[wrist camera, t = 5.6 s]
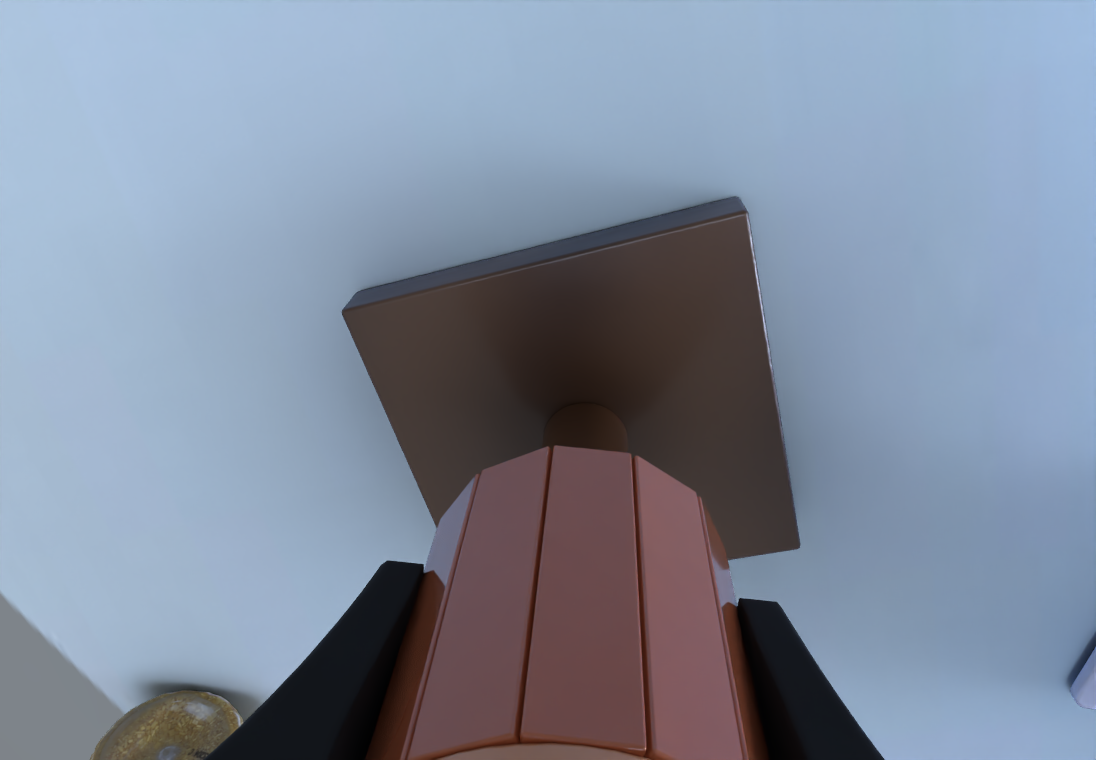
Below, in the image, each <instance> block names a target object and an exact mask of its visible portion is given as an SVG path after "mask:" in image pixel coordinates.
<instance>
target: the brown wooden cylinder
mask: <svg viewBox="0 0 1096 760" xmlns="http://www.w3.org/2000/svg"><path fill="white" fill-rule="evenodd" d="M365 760H769V756H768V751H767V746H766V741H765V737H764V732H763V727H762V722H761V718H760V713H759V708H758V703H757V698H756V694H755V689H754V684H753V679H752V674H751V670H750V665H749V660H748V656H747V651H746V646H745V641H744V636H743V632H742V627H741V622H740V617H739V612H738V608H737V603H736V598H735V593H734V588H733V584H732V579H731V574H730V569H729V564H728V560H727V555H726V550H725V547H724V545H723V543H722V541H721V539H720V537H719V535H718V533H717V530H716V528H715V526H714V524H713V522H712V520H711V518H710V516H709V513H708V511H707V509H706V507H705V505H704V503H703V501H702V499H701V497H700V496H697V493H696V492H695V491H694V490H692V489H690V488H689V487H687V486H686V485H684V484H682V483H681V482H679V481H678V480H676V479H674V478H673V477H671V476H670V475H668V474H666V473H665V472H663V471H662V470H660V469H658V468H657V467H655V466H654V465H652V464H650V463H649V462H647V461H646V460H644V459H642V458H641V457H639V456H637V455H636V456H634V457H633V459H632V455H631V453H628V452H618V451H608V450H598V449H589V448H579V447H569V446H559V445H555V446H554V447H553V452H552V450H551V449H550V447H549V446H546V447H544V448H541V449H538V450H536V451H533V452H530V453H527V454H525V455H522V456H519V457H516V458H514V459H511V460H508V461H505V462H503V463H500V464H497V465H494V466H492V467H489V468H486V469H483V470H482V471H481V474H476V475H475V476H474V478H473V479H472V480H471V481H470V483H469V484H468V485H467V486H466V488H465V489H464V490H463V491H462V493H461V494H460V495H459V496H458V498H457V499H456V500H455V501H454V503H453V504H452V505H451V506H450V508H449V509H448V510H447V511H446V513H445V514H444V515H443V516H442V518H441V519H440V522H439V525H438V527H437V530H436V534H435V537H434V540H433V543H432V546H431V550H430V553H429V556H428V559H427V563H426V566H425V569H424V574H423V577H422V580H421V583H420V586H419V590H418V593H417V596H416V599H415V603H414V606H413V609H412V612H411V615H410V619H409V622H408V625H407V628H406V631H405V634H404V638H403V641H402V644H401V647H400V650H399V653H398V656H397V659H396V662H395V665H394V669H393V672H392V675H391V678H390V681H389V685H388V688H387V691H386V694H385V697H384V701H383V704H382V707H381V710H380V714H379V717H378V720H377V723H376V726H375V730H374V733H373V736H372V739H371V742H370V746H369V749H368V752H367V755H366V758H365Z"/></svg>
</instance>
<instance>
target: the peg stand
mask: <svg viewBox="0 0 1096 760" xmlns="http://www.w3.org/2000/svg"><path fill="white" fill-rule="evenodd" d="M342 315H343V317H344V320H345V322H346V324H347V327H348V329H349V331H350V333H351V336H352V338H353V340H354V342H355V345H356V347H357V349H358V351H359V354H360V356H361V358H362V360H363V363H364V365H365V367H366V369H367V372H368V374H369V376H370V378H371V381H372V383H373V385H374V387H375V390H376V392H377V394H378V396H379V399H380V401H381V403H382V405H383V408H384V410H385V412H386V414H387V417H388V419H389V421H390V424H391V426H392V428H393V430H394V433H395V435H396V437H397V439H398V442H399V444H400V446H401V448H402V451H403V453H404V455H405V457H406V460H407V462H408V464H409V466H410V469H411V471H412V473H413V475H414V478H415V480H416V482H417V484H418V487H419V489H420V491H421V493H422V496H423V498H424V500H425V502H426V505H427V507H428V509H429V512H430V514H431V516H432V518H433V521H434V523H435V525H436V527H438V525H439V522H440V519H441V518H442V516H443V515H444V514H445V513H446V511H447V510H448V509H449V508H450V506H451V505H452V504H453V503H454V501H455V500H456V499H457V498H458V496H459V495H460V494H461V493H462V491H463V490H464V489H465V488H466V486H467V485H468V484H469V483H470V481H471V480H472V479H473V478H474V476H475V475H476V474H481V471H482V470H483V469H486V468H489V467H492V466H494V465H497V464H500V463H503V462H505V461H508V460H511V459H514V458H516V457H519V456H522V455H525V454H527V453H530V452H533V451H536V450H538V449H541V448H544V447H546V446H549V447H550V449H551V450H552V452H553V447H554V446H555V445H559V446H569V447H579V448H589V449H598V450H608V451H618V452H628V453H631V455H632V459H633V457H634V456H636V455H637V456H639V457H641V458H642V459H644V460H646V461H647V462H649V463H650V464H652V465H654V466H655V467H657V468H658V469H660V470H662V471H663V472H665V473H666V474H668V475H670V476H671V477H673V478H674V479H676V480H678V481H679V482H681V483H682V484H684V485H686V486H687V487H689V488H690V489H692V490H694V491H695V492H696V493H697V496H700V497H701V499H702V501H703V503H704V505H705V507H706V509H707V511H708V513H709V516H710V518H711V520H712V522H713V524H714V526H715V528H716V530H717V533H718V535H719V537H720V539H721V541H722V543H723V545H724V547H725V550H726V555H727V560H732V559H738V558H744V557H751V556H757V555H763V554H770V553H776V552H782V551H789V550H795V549H799V548H800V539H799V532H798V526H797V519H796V513H795V507H794V500H793V494H792V488H791V481H790V475H789V468H788V462H787V456H786V449H785V443H784V437H783V430H782V424H781V417H780V411H779V405H778V398H777V392H776V386H775V379H774V373H773V366H772V360H771V354H770V347H769V341H768V334H767V328H766V322H765V315H764V309H763V303H762V296H761V290H760V283H759V277H758V271H757V264H756V258H755V252H754V245H753V239H752V232H751V226H750V220H749V213H748V212H747V210H746V208H745V207H744V205H743V203H742V202H741V200H740V199H739V197H733V198H729V199H725V200H721V201H717V202H713V203H709V204H705V205H701V206H697V207H693V208H689V209H685V210H681V211H677V212H673V213H669V214H665V215H661V216H657V217H653V218H649V219H645V220H641V221H637V222H633V223H629V224H625V225H621V226H617V227H613V228H609V229H605V230H601V231H598V232H594V233H590V234H586V235H582V236H578V237H574V238H570V239H566V240H562V241H558V242H554V243H550V244H546V245H542V246H538V247H534V248H530V249H526V250H522V251H518V252H514V253H510V254H506V255H502V256H498V257H494V258H490V259H486V260H482V261H478V262H474V263H470V264H466V265H462V266H458V267H455V268H451V269H447V270H443V271H439V272H435V273H431V274H427V275H423V276H419V277H415V278H411V279H407V280H403V281H399V282H395V283H391V284H387V285H383V286H379V287H375V288H371V289H367V290H363V291H359V292H357V293H356V294H355V295H354V296H353V297H352V299H351V300H350V301H349V302H348V304H347V305H346V306H345V307H344V308H343V310H342Z"/></svg>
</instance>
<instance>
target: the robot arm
mask: <svg viewBox="0 0 1096 760" xmlns="http://www.w3.org/2000/svg"><path fill="white" fill-rule="evenodd" d="M423 574H424V564H416V563H407V562H397V561H386V562H385V563H383V564H382V565H381V566H380V567H379V569H378V570H377V571H376V573H375V574H374V576H373V577H372V578H371V580H370V581H369V582H368V584H367V585H366V587H365V588H364V589H363V591H362V592H361V593H360V594H359V596H358V597H357V598H356V600H355V601H354V602H353V603H352V605H351V606H350V607H349V608H348V610H347V611H346V612H345V613H344V615H343V616H342V617H341V618H340V620H339V621H338V622H337V623H336V624H335V626H334V627H333V628H332V629H331V630H330V631H329V633H328V634H327V635H326V636H325V637H324V638H323V640H322V641H321V642H320V643H319V644H318V645H317V646H316V648H315V649H314V650H313V651H312V652H311V653H310V655H309V656H308V657H307V658H306V659H305V660H304V661H303V662H302V664H301V665H300V666H299V667H298V668H297V669H296V670H295V671H294V672H293V673H292V674H291V675H290V676H289V677H288V678H287V679H286V680H285V681H284V682H283V684H282V685H281V686H280V687H279V688H278V689H277V690H276V691H275V692H274V693H273V694H272V695H271V696H270V697H269V698H268V699H267V700H266V701H265V702H264V703H263V704H262V705H261V706H260V707H259V708H258V709H257V710H256V711H255V712H254V713H253V714H252V715H251V716H250V717H249V718H248V719H247V720H246V721H245V722H244V723H243V724H242V725H241V726H240V727H239V728H237V729H236V730H235V731H234V732H233V733H232V734H231V735H230V736H229V737H228V738H227V739H226V740H224V741H223V742H222V743H221V744H220V745H219V746H218V747H217V748H216V749H214V750H213V751H212V752H211V753H210V754H209V755H208V756H207V757H205V758H204V759H203V760H365V758H366V755H367V752H368V749H369V746H370V742H371V739H372V736H373V733H374V730H375V726H376V723H377V720H378V717H379V714H380V710H381V707H382V704H383V701H384V697H385V694H386V691H387V688H388V685H389V681H390V678H391V675H392V672H393V669H394V665H395V662H396V659H397V656H398V653H399V650H400V647H401V644H402V641H403V638H404V634H405V631H406V628H407V625H408V622H409V619H410V615H411V612H412V609H413V606H414V603H415V599H416V596H417V593H418V590H419V586H420V583H421V580H422V577H423ZM737 608H738V612H739V617H740V622H741V627H742V632H743V636H744V641H745V646H746V651H747V656H748V660H749V665H750V670H751V674H752V679H753V684H754V689H755V694H756V698H757V703H758V708H759V713H760V718H761V722H762V727H763V732H764V737H765V741H766V746H767V751H768V756H769V760H885V759H884V758H883V757H882V756H881V754H880V753H879V752H878V750H877V749H876V748H875V746H874V745H873V744H872V742H871V741H870V740H869V738H868V737H867V735H866V734H865V733H864V731H863V730H862V729H861V727H860V726H859V724H858V723H857V722H856V720H855V719H854V717H853V716H852V714H851V713H850V712H849V710H848V709H847V707H846V706H845V705H844V703H843V702H842V700H841V699H840V697H839V696H838V695H837V693H836V692H835V690H834V689H833V687H832V686H831V684H830V683H829V681H828V680H827V678H826V677H825V675H824V674H823V672H822V671H821V669H820V668H819V666H818V665H817V663H816V662H815V660H814V658H813V657H812V655H811V654H810V652H809V651H808V649H807V648H806V646H805V644H804V643H803V641H802V640H801V638H800V636H799V635H798V633H797V632H796V630H795V628H794V627H793V625H792V624H791V622H790V620H789V619H788V617H787V616H786V614H785V612H784V611H783V609H782V608H781V606H780V605H779V604H778V603H777V602H772V601H763V600H754V599H744V598H740V599H739V602H738V606H737ZM1070 692H1071V695H1072V697H1073V698H1074V700H1075V701H1076V703H1077V704H1078V705H1080V706H1081V707H1084V708H1088V709H1096V647H1095V649H1094V651H1093V652H1092V654H1091V656H1090V657H1089V659H1088V660H1087V662H1086V664H1085V665H1084V667H1083V668H1082V670H1081V672H1080V673H1079V675H1078V676H1077V678H1076V680H1075V681H1074V683H1073V684H1072V686H1071V689H1070Z"/></svg>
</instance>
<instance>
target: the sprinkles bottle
mask: <svg viewBox="0 0 1096 760" xmlns="http://www.w3.org/2000/svg"><path fill="white" fill-rule="evenodd" d="M242 724H243V719H242V717H241V716H240V715H239V713H238V711H237V709H235V708H234V707H233V705H232V704H230V702H229V701H227V700H226V699H224V698H223V697H221V696H219V695H214V694H212V693H210V692H199V691H192V690H181V691H177V692H172V693H164V694H162V695H160V696H157V697H155V698H153V699H150V700H148V701H147V702H145V703H143V704H141V705H139V706H137V707H135V708H133V709H132V710H130V711H129V712H127V713H126V714H125V715H124V716H122V717H121V718H120V719H119V720H118V721H116V722H115V723H114V724H113V725H112V726H111V728H110V729H109V730H108V731H107V732H106V734H105V735H104V736H103V737H102V738H101V740H100V741H99V743H98V744H97V746H96V748H95V751H94V753H93V754H92V756H91V758H90V760H203V759H204V758H205V757H207V756H208V755H209V754H210V753H211V752H212V751H213V750H214V749H216V748H217V747H218V746H219V745H220V744H221V743H222V742H223V741H224V740H226V739H227V738H228V737H229V736H230V735H231V734H232V733H233V732H234V731H235V730H236V729H237V728H239V727H240V726H241V725H242Z"/></svg>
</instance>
